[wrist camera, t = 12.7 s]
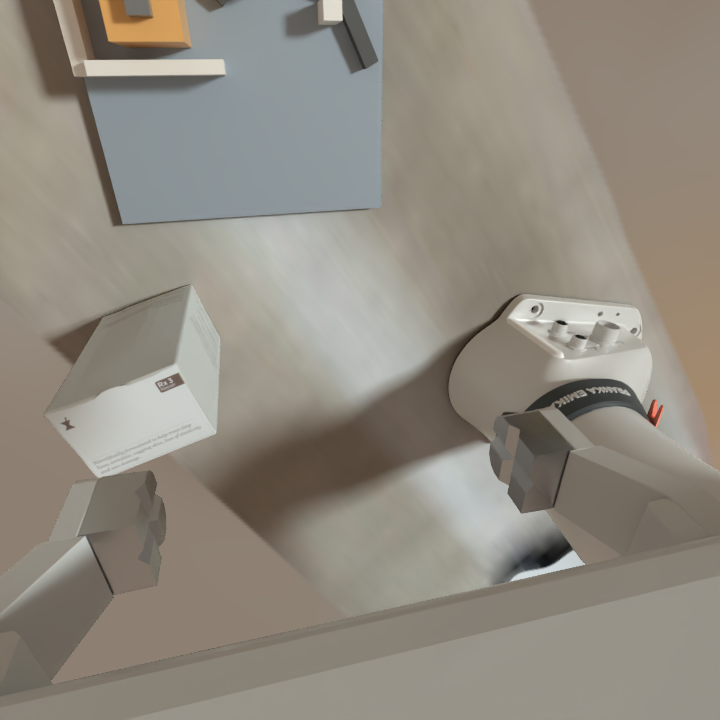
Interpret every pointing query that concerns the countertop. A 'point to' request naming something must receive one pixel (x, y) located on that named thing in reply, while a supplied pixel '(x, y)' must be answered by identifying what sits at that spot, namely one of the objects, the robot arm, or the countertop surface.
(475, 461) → the countertop surface
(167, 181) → the board
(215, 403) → the skincare box
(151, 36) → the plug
